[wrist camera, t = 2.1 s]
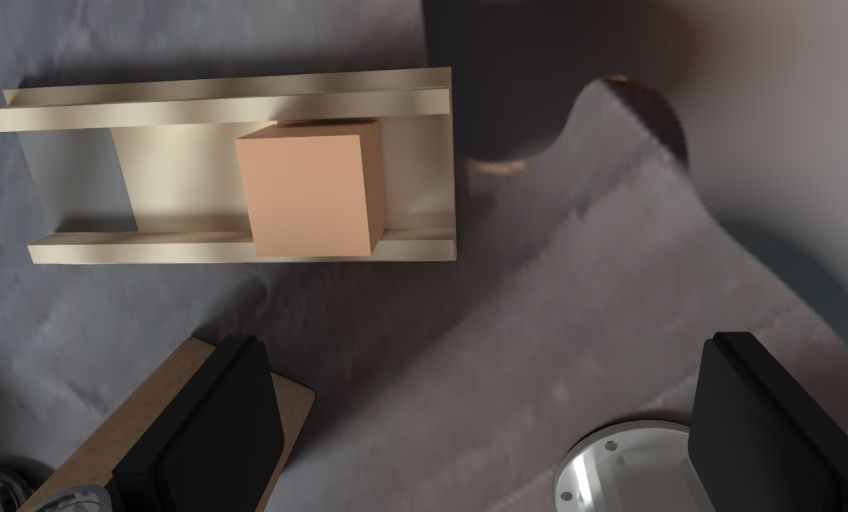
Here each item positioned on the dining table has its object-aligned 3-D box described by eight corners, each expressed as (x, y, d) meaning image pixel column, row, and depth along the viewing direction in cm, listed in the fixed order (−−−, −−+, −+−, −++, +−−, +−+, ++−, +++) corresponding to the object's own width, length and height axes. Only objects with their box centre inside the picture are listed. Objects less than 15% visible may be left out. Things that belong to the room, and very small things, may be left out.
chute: (451, 66, 28) (448, 69, 25) (456, 254, 32) (454, 274, 29) (16, 88, 31) (-30, 93, 28) (73, 258, 35) (38, 276, 32)
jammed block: (378, 119, 28) (359, 134, 24) (387, 223, 30) (370, 255, 26) (273, 124, 29) (234, 139, 24) (289, 225, 31) (256, 256, 26)
